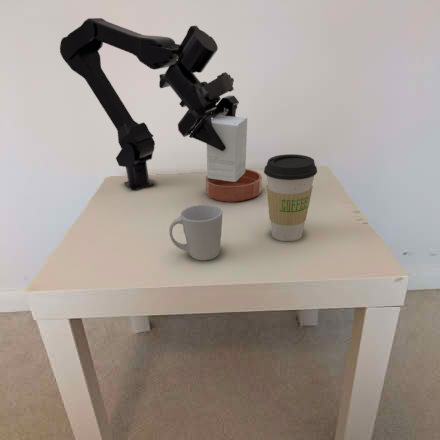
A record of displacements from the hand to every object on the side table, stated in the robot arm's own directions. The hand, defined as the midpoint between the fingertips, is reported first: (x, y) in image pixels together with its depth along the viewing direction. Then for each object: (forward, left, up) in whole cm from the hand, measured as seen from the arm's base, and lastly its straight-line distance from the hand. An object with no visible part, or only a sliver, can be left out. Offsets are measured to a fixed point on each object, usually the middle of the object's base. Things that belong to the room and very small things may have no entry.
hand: (233, 144), depth 90 cm
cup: (+19, -20, -14) cm, 31 cm away
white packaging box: (-2, -1, -7) cm, 8 cm away
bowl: (-5, +3, -13) cm, 15 cm away
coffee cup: (+22, -1, -14) cm, 26 cm away
